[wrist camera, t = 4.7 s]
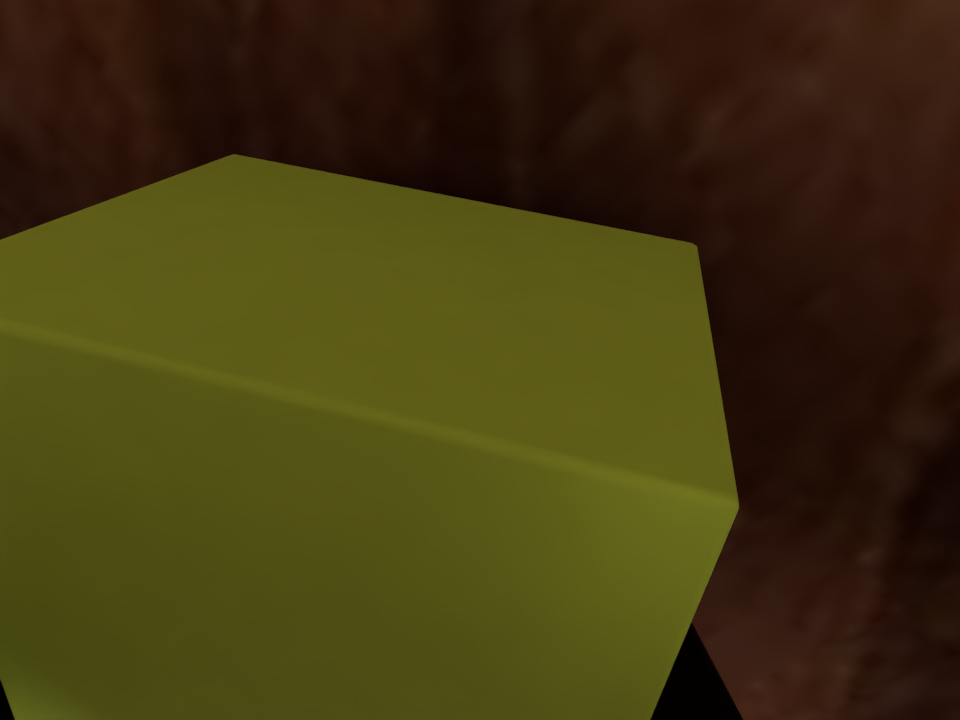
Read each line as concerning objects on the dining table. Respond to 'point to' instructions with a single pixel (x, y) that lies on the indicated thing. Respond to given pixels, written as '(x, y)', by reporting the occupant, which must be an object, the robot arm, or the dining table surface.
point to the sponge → (350, 456)
